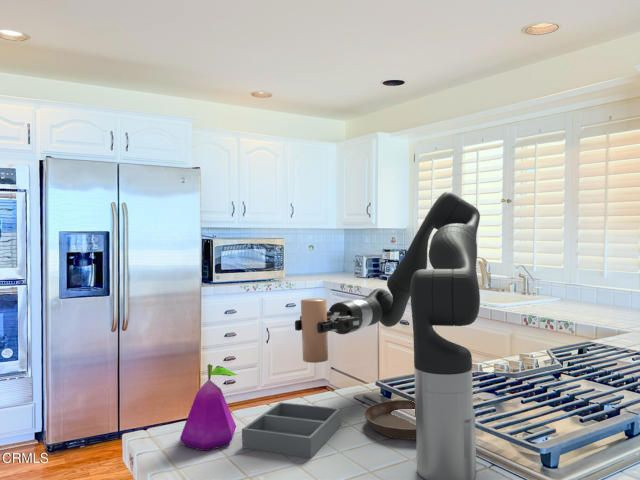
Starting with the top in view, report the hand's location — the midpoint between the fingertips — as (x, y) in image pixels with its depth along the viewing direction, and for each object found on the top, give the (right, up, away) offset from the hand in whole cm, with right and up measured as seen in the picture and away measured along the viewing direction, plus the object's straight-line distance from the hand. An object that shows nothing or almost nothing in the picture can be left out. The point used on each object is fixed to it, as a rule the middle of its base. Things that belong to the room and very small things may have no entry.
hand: (307, 327), depth 108 cm
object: (+21, -20, -5) cm, 29 cm away
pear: (-19, -21, -10) cm, 30 cm away
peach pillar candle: (+2, -7, +2) cm, 8 cm away
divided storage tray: (-2, -20, -9) cm, 22 cm away
